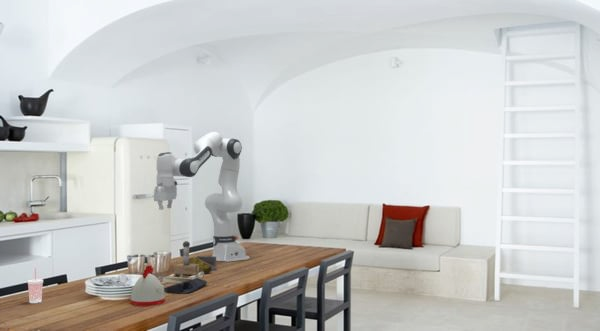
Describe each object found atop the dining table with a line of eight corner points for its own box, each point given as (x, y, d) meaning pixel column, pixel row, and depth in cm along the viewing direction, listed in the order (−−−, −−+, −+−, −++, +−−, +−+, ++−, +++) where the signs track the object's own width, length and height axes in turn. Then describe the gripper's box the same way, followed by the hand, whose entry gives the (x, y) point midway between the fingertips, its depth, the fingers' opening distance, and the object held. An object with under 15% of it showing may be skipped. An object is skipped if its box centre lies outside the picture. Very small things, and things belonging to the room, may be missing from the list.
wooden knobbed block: (179, 275, 312) (179, 239, 311) (200, 276, 309) (199, 240, 309) (173, 277, 305) (173, 241, 304) (194, 278, 302) (194, 242, 302)
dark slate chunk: (212, 286, 290) (212, 276, 290) (186, 295, 270) (186, 285, 270) (185, 283, 296) (185, 273, 296) (157, 293, 276) (157, 282, 276)
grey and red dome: (170, 299, 262) (170, 263, 262) (155, 306, 248) (155, 269, 248) (140, 297, 265) (140, 262, 265) (124, 304, 252) (124, 268, 251)
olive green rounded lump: (202, 275, 315) (202, 259, 315) (184, 273, 322) (184, 257, 322) (213, 272, 322) (213, 257, 322) (194, 270, 329) (194, 255, 329)
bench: (195, 268, 335) (195, 255, 334) (219, 269, 331) (219, 256, 331) (163, 282, 297) (163, 267, 297) (190, 283, 294) (190, 269, 294)
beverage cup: (38, 299, 261) (38, 266, 261) (46, 301, 257) (46, 268, 257) (24, 302, 257) (24, 268, 256) (32, 304, 253) (31, 270, 253)
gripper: (161, 183, 316) (161, 210, 316) (178, 182, 336) (178, 207, 336) (150, 183, 318) (150, 210, 318) (168, 182, 337) (168, 207, 338)
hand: (165, 208), depth 327 cm, fingers open, 8 cm apart
